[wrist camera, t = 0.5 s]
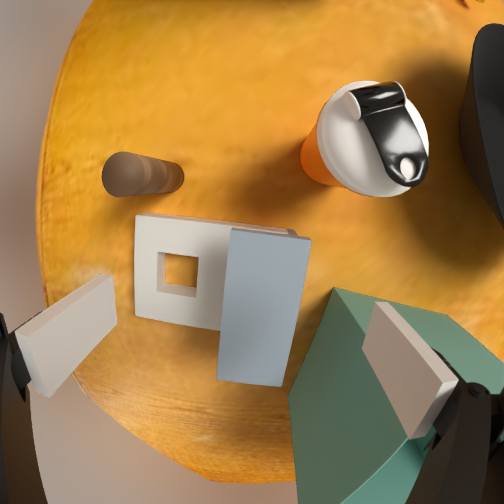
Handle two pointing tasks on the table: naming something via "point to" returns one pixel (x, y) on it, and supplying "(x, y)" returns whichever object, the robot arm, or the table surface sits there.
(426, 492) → the robot arm
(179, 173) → the peg
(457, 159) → the table surface
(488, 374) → the box
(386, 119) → the shaker bottle
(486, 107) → the bowl
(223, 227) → the socket station
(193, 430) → the table surface
